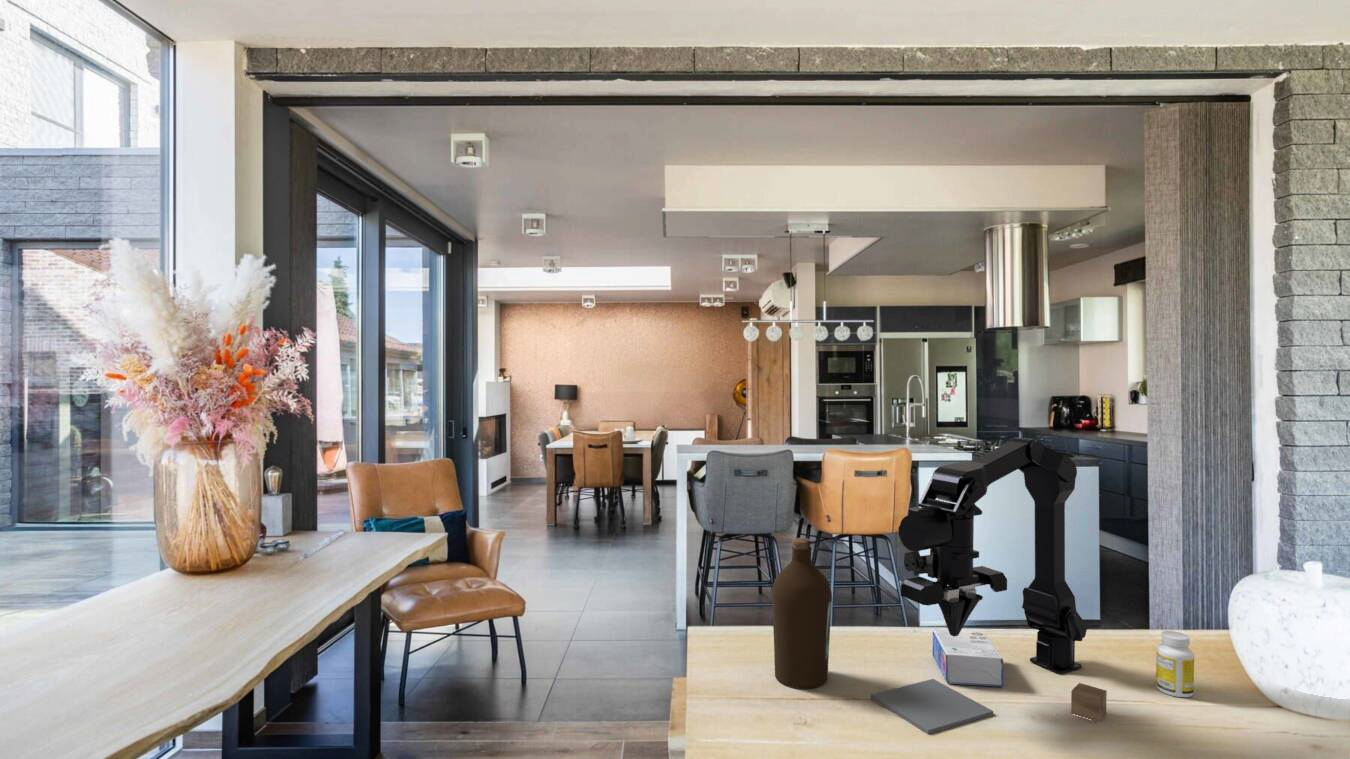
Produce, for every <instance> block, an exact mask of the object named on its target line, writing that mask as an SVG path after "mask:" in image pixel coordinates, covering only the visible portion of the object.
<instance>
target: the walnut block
mask: <svg viewBox="0 0 1350 759" xmlns="http://www.w3.org/2000/svg"><path fill="white" fill-rule="evenodd" d="M1107 692H1108V691H1107V689H1103V688H1098V687H1095V686H1092V685H1089V684H1085V683H1081V682H1079V683H1078V684H1077V685H1075V687H1073V688H1072V690H1071V695H1070V696H1071V700H1070V701H1071V702H1070V708H1071V709H1070V715H1071V714H1075V715H1078V716H1081V717H1085V718H1088V719H1091V720H1092V721H1091V722H1093V721H1095V722H1094V723H1096V722H1098V723H1097V724H1100V723H1101V722H1102V720H1103V719H1104V718H1105V717H1106V715H1107V694H1108V693H1107ZM1099 722H1100V723H1099Z"/></svg>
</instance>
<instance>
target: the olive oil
mask: <svg viewBox="0 0 1350 759" xmlns="http://www.w3.org/2000/svg"><path fill="white" fill-rule="evenodd" d="M792 544H793V546H791V548H792V550H791V552H792V553H791V556H792V558H791V559H792V560H790V562H789V563H788V564H787V565H786V566H785V567H784V568H783V569H782V570H781V571H780V572H779V573H778V574H777V575H776V577H775V578H774V581H773V584H772V587H771V588H772V589H771V607H772V608H771V609H772V627H773V650H774V652H773V654H774V677H775V679H776V681H778V682H779V683H781V684H783V685H784V686H786V687H790V688H794V689H801V690H808V689H811V690H812V689H817V688H820V687H822V686H824V685H825V684H826V683H827V682H828V679H829V654H830V636H831V635H830V634H831V619H832V617H831V616H832V603H833V602H832V601H833V596H832V595H833V594H832V589H831V588H832V587H831V586H830V583H829V581H828V579H827V577H826V576H825V574H824V573H822V572H821V570H819V568H818V567H817V566H816V565H815V563H813V561H812V547H811V544H812V541H811V539H810V538H805V537H796V538H793V539H792Z"/></svg>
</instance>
